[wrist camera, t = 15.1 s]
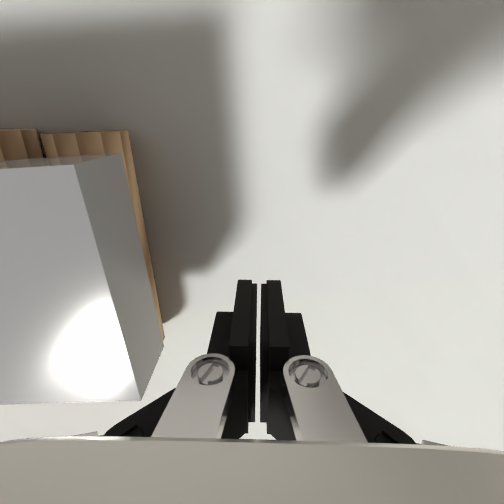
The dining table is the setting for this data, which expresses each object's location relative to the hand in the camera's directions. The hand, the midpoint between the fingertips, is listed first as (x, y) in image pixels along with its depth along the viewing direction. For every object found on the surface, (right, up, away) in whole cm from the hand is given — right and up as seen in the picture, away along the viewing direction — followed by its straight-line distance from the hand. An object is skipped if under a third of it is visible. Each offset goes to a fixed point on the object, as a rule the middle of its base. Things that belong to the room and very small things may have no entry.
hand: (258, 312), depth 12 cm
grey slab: (-12, +2, +3) cm, 13 cm away
